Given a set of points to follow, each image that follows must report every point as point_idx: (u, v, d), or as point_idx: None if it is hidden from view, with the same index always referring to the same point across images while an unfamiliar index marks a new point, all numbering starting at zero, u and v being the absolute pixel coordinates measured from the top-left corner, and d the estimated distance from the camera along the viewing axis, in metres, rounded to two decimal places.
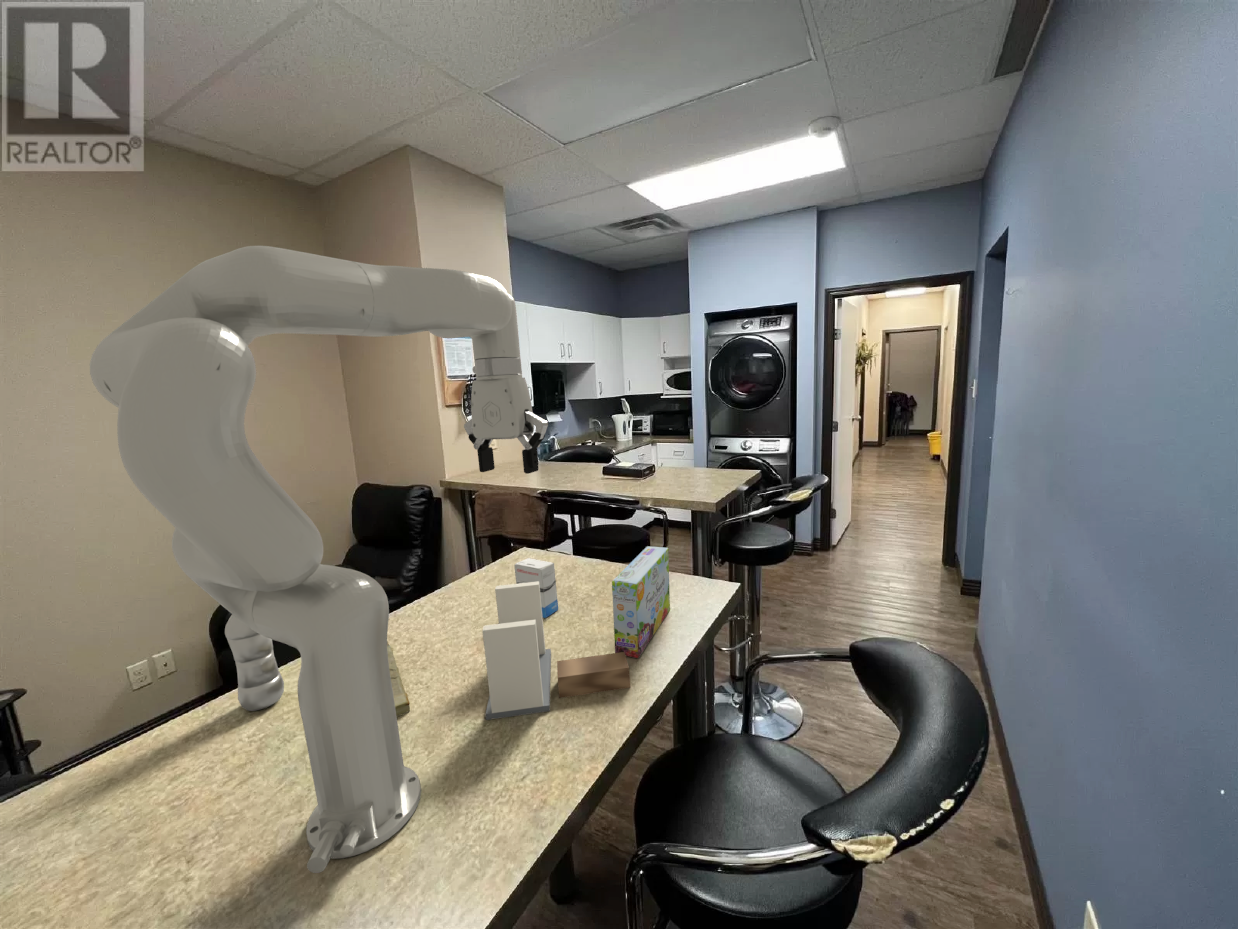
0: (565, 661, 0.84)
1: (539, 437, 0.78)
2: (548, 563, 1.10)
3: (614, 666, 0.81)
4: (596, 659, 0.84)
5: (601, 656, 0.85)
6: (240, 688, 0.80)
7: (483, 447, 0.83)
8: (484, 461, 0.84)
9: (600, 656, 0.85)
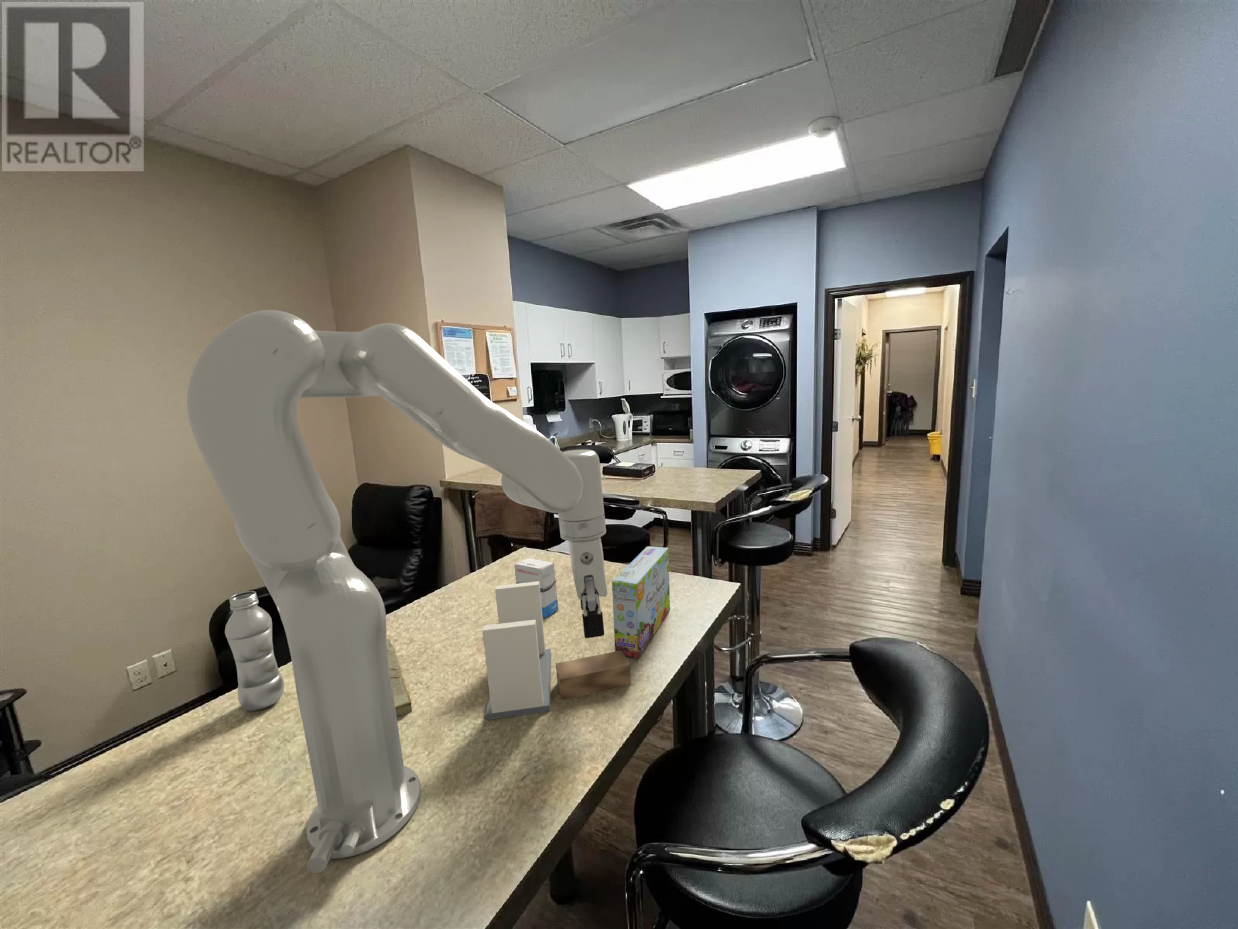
0: (564, 662, 0.83)
1: None
2: (548, 563, 1.10)
3: (615, 665, 0.82)
4: (595, 659, 0.84)
5: (600, 656, 0.85)
6: (240, 688, 0.80)
7: None
8: None
9: (599, 656, 0.85)
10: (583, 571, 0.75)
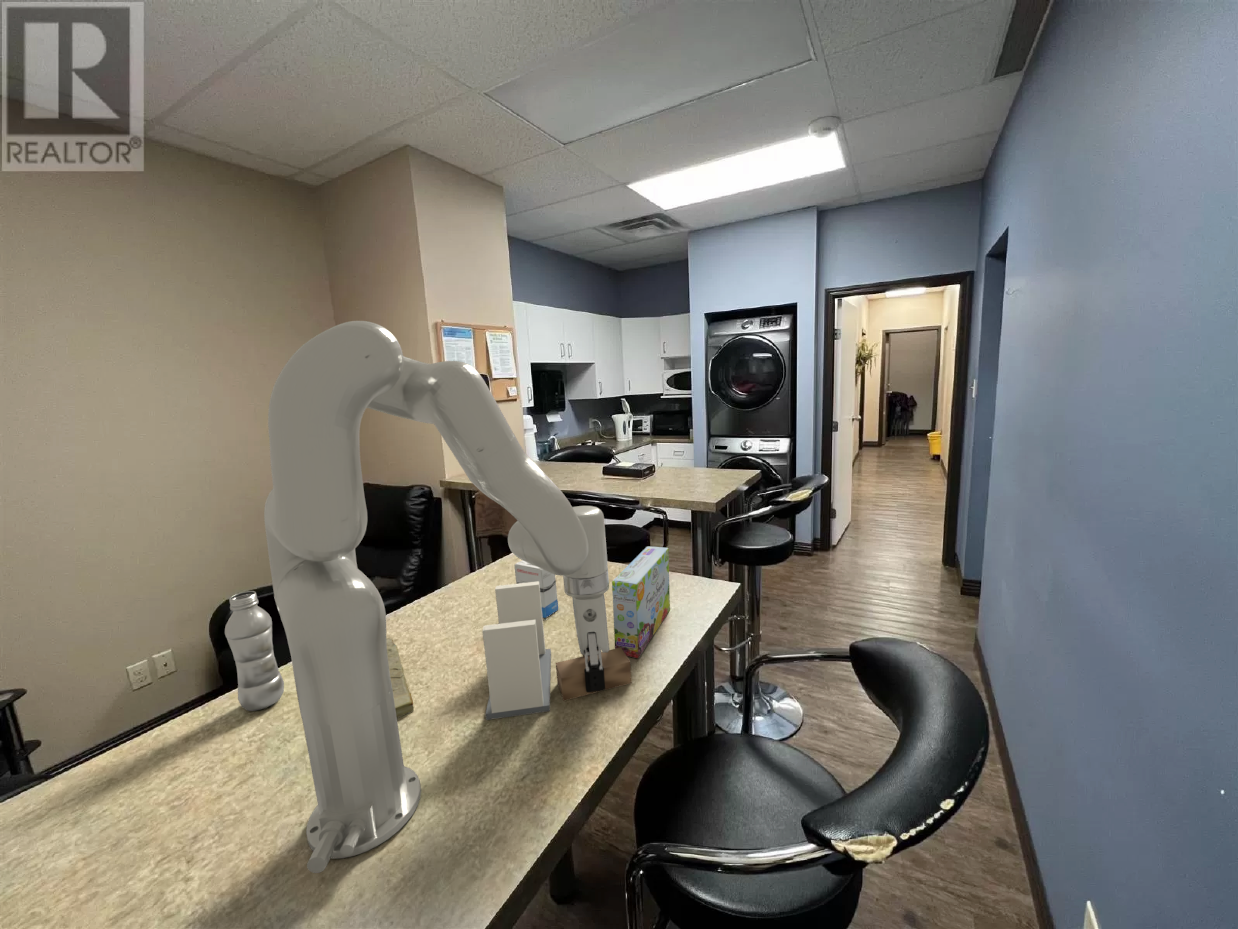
0: (564, 661, 0.83)
1: None
2: None
3: (616, 662, 0.82)
4: None
5: None
6: (240, 688, 0.80)
7: None
8: None
9: None
10: (586, 628, 0.76)
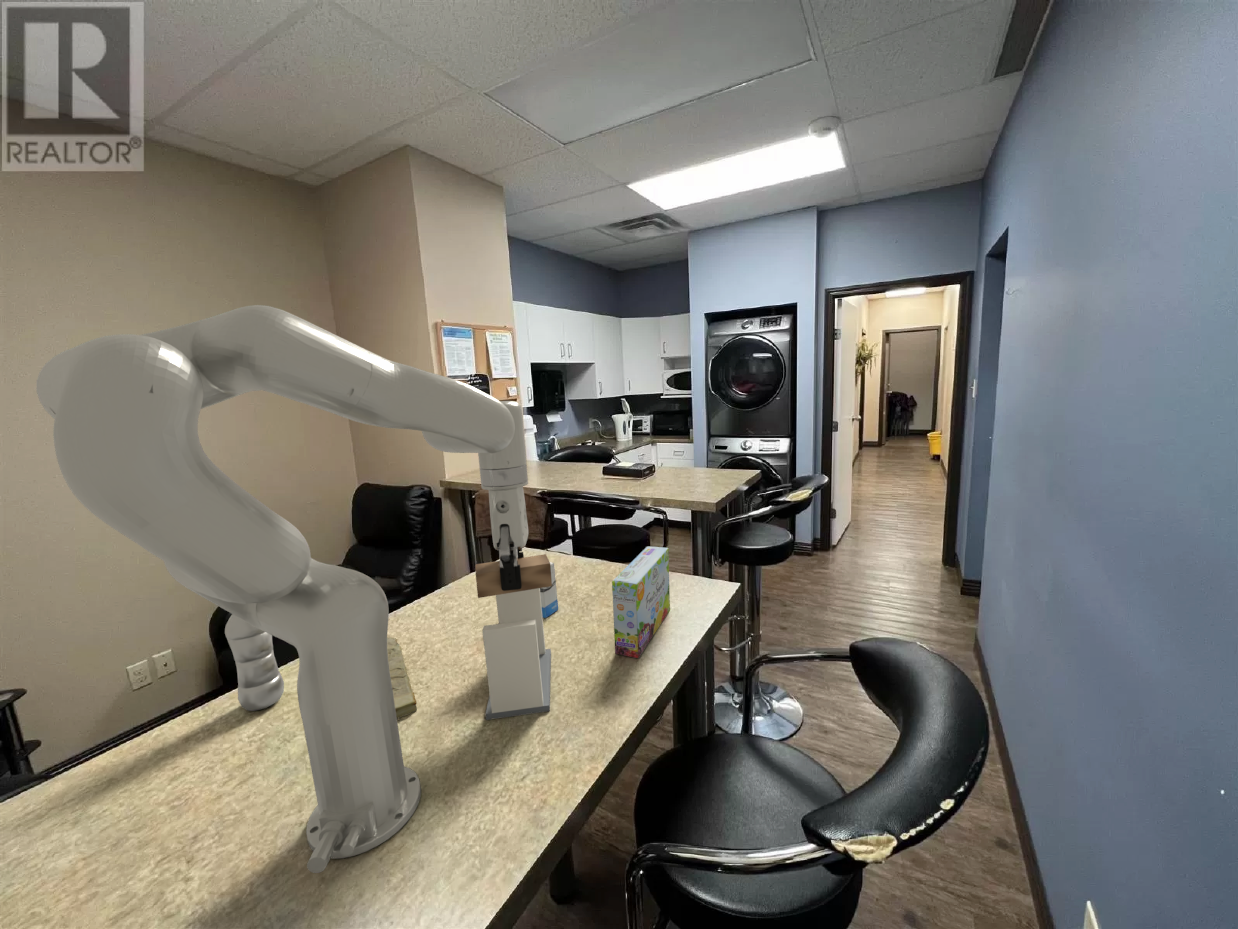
0: (484, 563, 0.81)
1: None
2: None
3: (535, 563, 0.80)
4: None
5: (522, 558, 0.83)
6: (240, 688, 0.80)
7: None
8: None
9: (521, 558, 0.83)
10: (499, 520, 0.74)
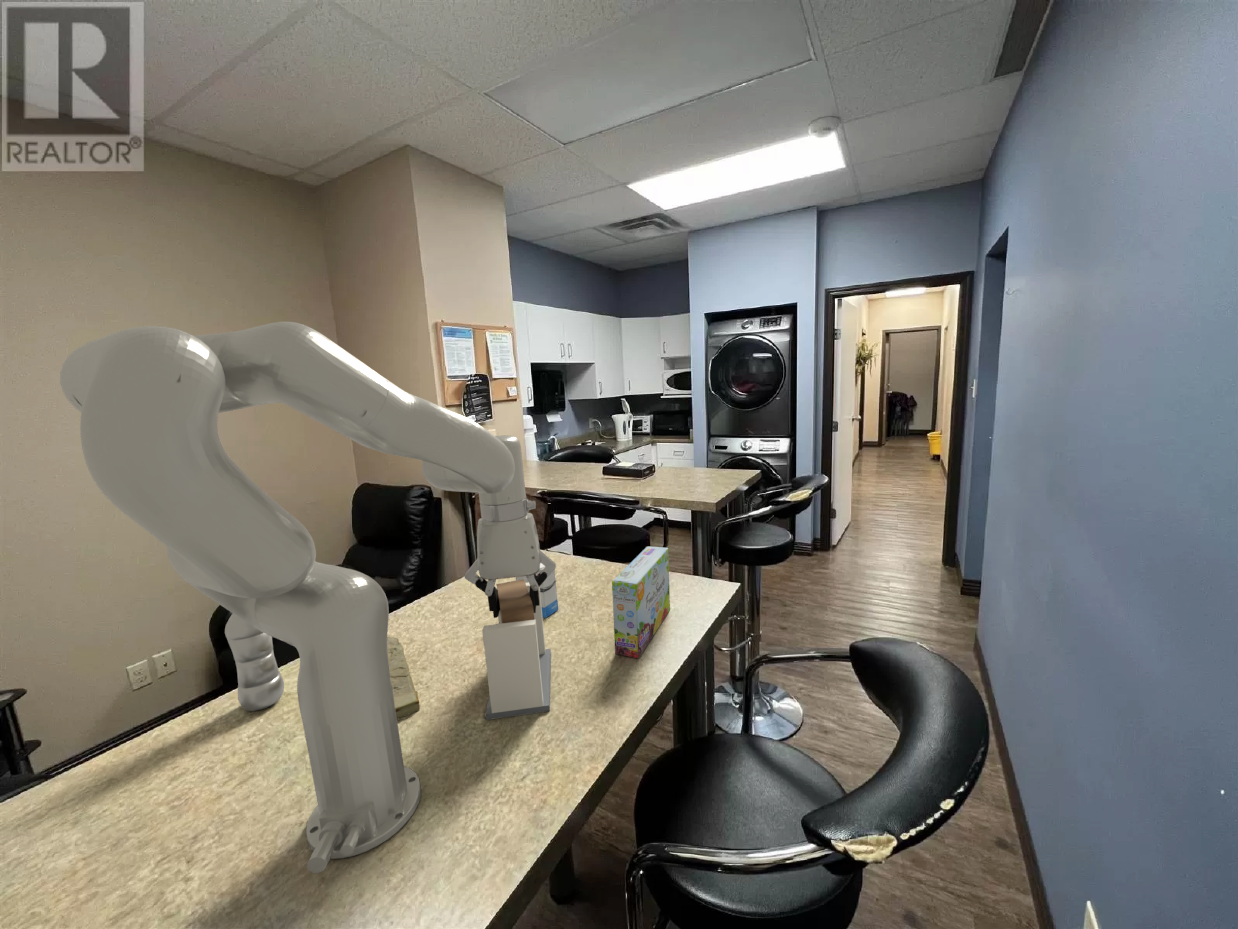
0: (502, 607, 0.77)
1: None
2: None
3: (521, 584, 0.86)
4: (505, 593, 0.82)
5: (500, 592, 0.83)
6: (240, 688, 0.80)
7: None
8: None
9: (500, 592, 0.83)
10: (537, 542, 0.80)
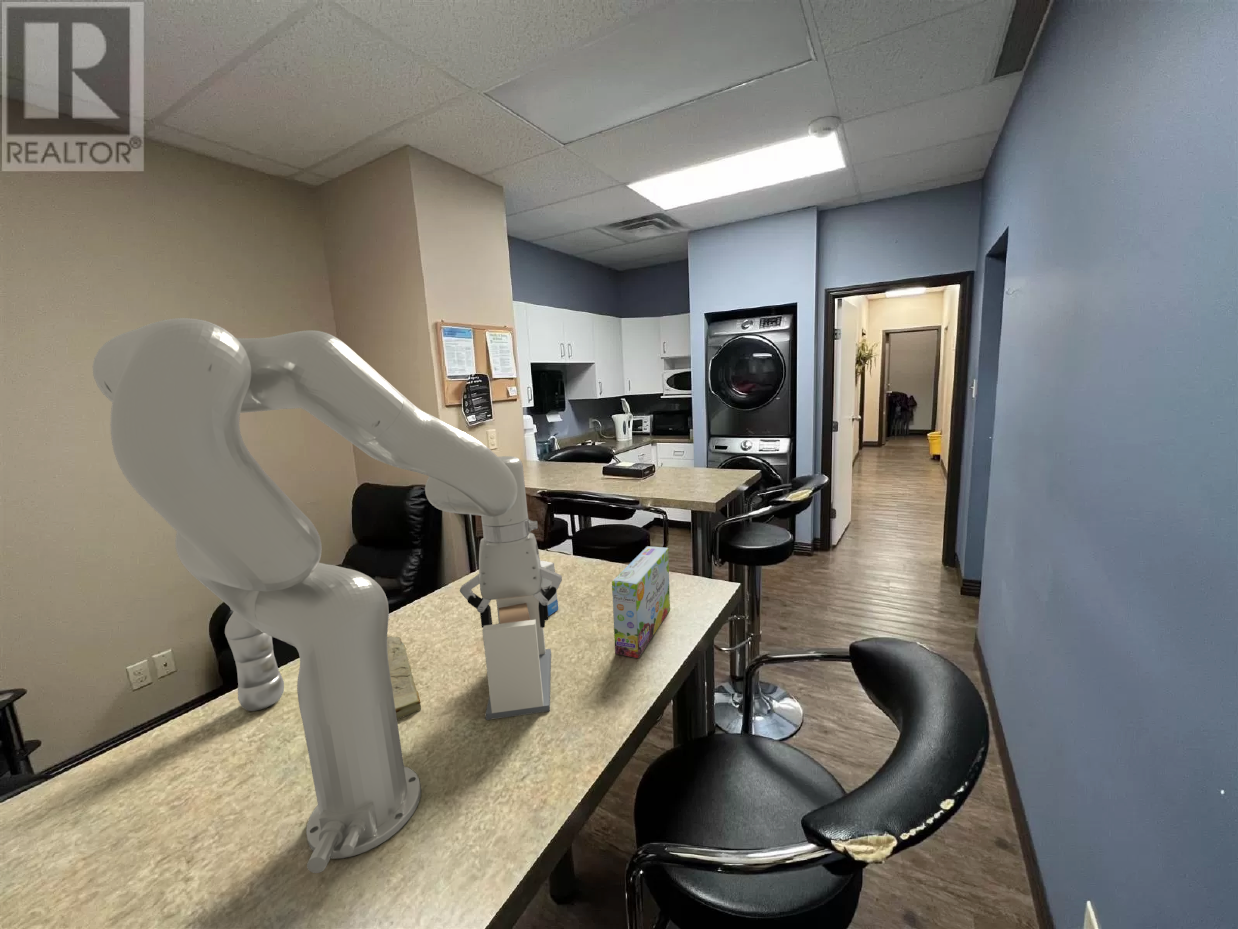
0: None
1: None
2: (548, 563, 1.10)
3: (523, 609, 0.86)
4: (507, 619, 0.83)
5: (502, 617, 0.84)
6: (240, 688, 0.80)
7: None
8: None
9: (502, 617, 0.83)
10: (539, 562, 0.81)
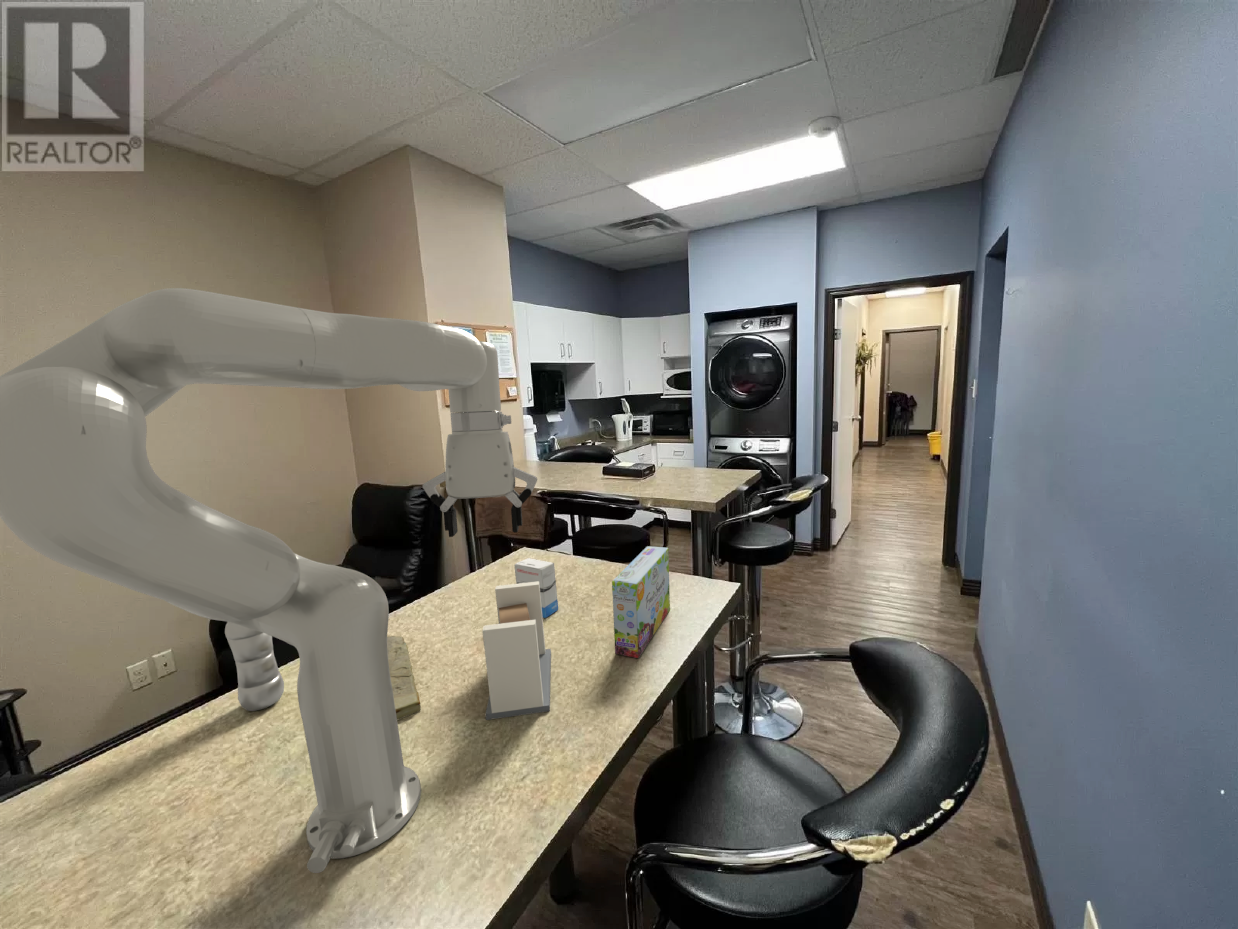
0: None
1: None
2: (548, 563, 1.10)
3: (523, 609, 0.86)
4: (507, 619, 0.83)
5: (502, 617, 0.84)
6: (240, 688, 0.80)
7: None
8: None
9: (502, 617, 0.83)
10: (511, 461, 0.74)
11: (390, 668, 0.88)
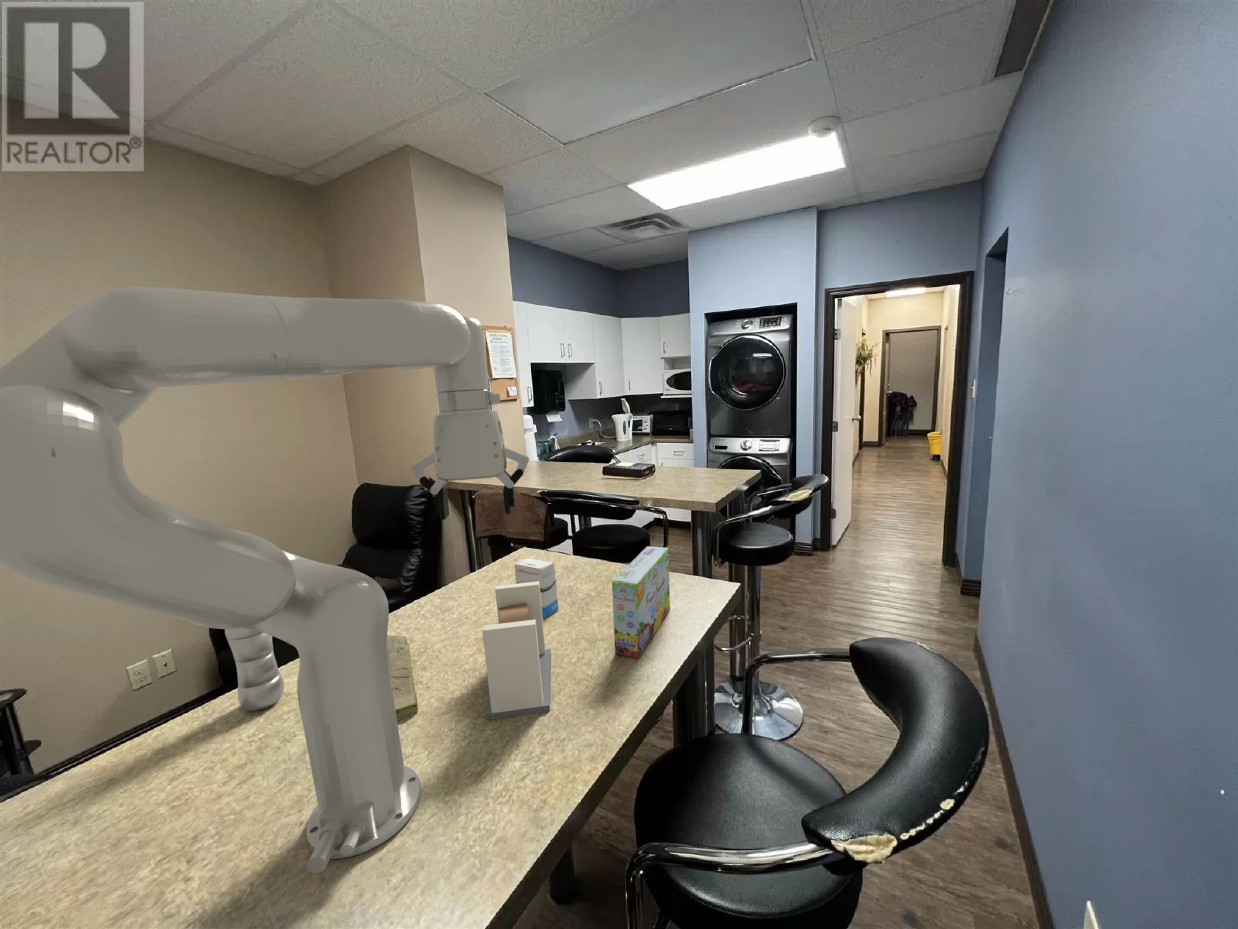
0: None
1: None
2: (548, 563, 1.10)
3: (523, 609, 0.86)
4: (507, 619, 0.83)
5: (502, 617, 0.84)
6: (240, 688, 0.80)
7: None
8: None
9: (502, 617, 0.83)
10: (501, 441, 0.72)
11: (390, 668, 0.88)
